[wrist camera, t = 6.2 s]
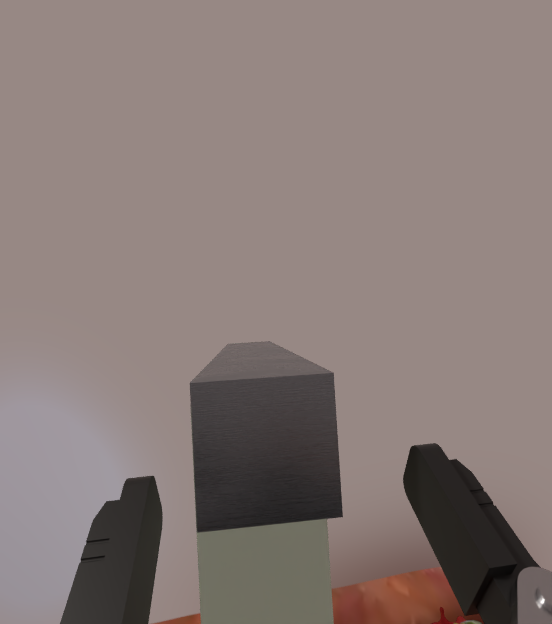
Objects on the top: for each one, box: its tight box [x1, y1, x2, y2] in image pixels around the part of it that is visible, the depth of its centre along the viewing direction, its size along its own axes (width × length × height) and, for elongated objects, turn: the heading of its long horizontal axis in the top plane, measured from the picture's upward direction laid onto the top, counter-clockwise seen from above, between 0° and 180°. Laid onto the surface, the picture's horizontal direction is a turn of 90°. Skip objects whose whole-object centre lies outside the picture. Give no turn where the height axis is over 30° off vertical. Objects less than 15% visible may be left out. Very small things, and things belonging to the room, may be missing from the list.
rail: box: [190, 341, 343, 533], centre depth 22 cm, size 4×25×4 cm, turn 5°
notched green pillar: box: [191, 417, 333, 624], centre depth 27 cm, size 10×19×34 cm, turn 6°
